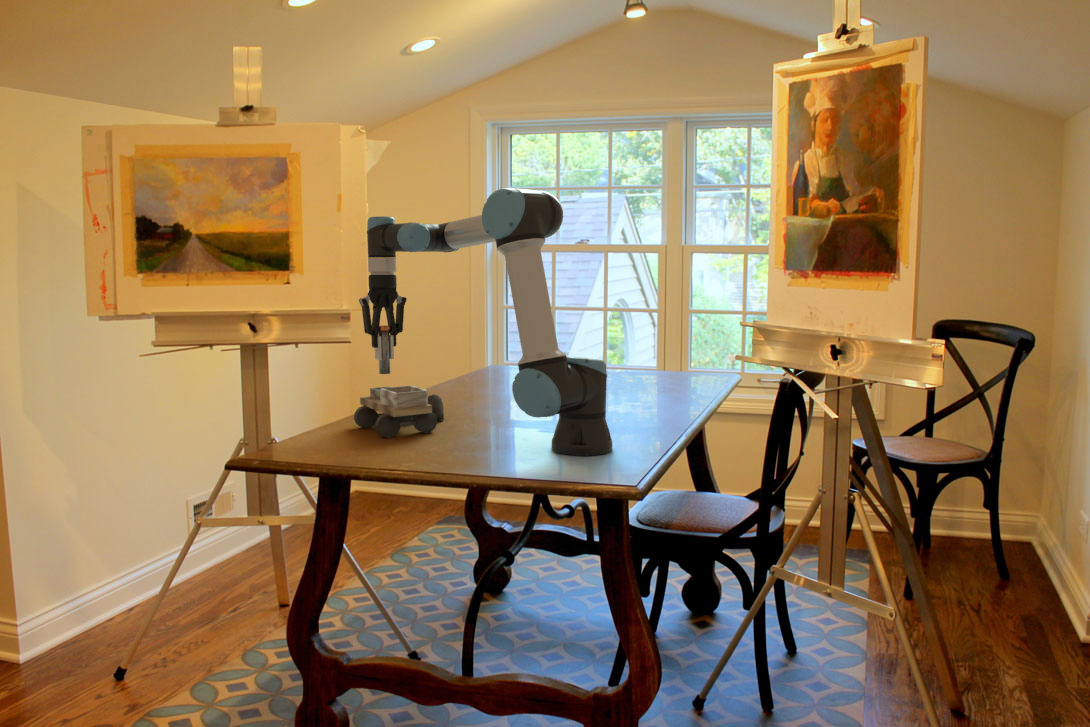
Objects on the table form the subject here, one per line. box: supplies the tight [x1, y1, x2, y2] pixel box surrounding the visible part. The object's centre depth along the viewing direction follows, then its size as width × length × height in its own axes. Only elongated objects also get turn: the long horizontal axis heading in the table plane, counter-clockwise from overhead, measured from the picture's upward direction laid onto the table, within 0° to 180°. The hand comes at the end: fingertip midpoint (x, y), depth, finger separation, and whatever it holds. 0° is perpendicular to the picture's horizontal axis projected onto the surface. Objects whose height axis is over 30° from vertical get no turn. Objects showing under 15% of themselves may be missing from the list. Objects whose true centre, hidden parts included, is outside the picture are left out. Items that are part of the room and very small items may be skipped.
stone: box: [411, 394, 445, 422], centre depth 255 cm, size 10×8×10 cm
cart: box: [353, 385, 438, 439], centre depth 239 cm, size 22×17×12 cm
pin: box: [378, 324, 391, 375], centre depth 242 cm, size 4×4×13 cm
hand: (384, 358), depth 242 cm, fingers closed on pin, 3 cm apart
